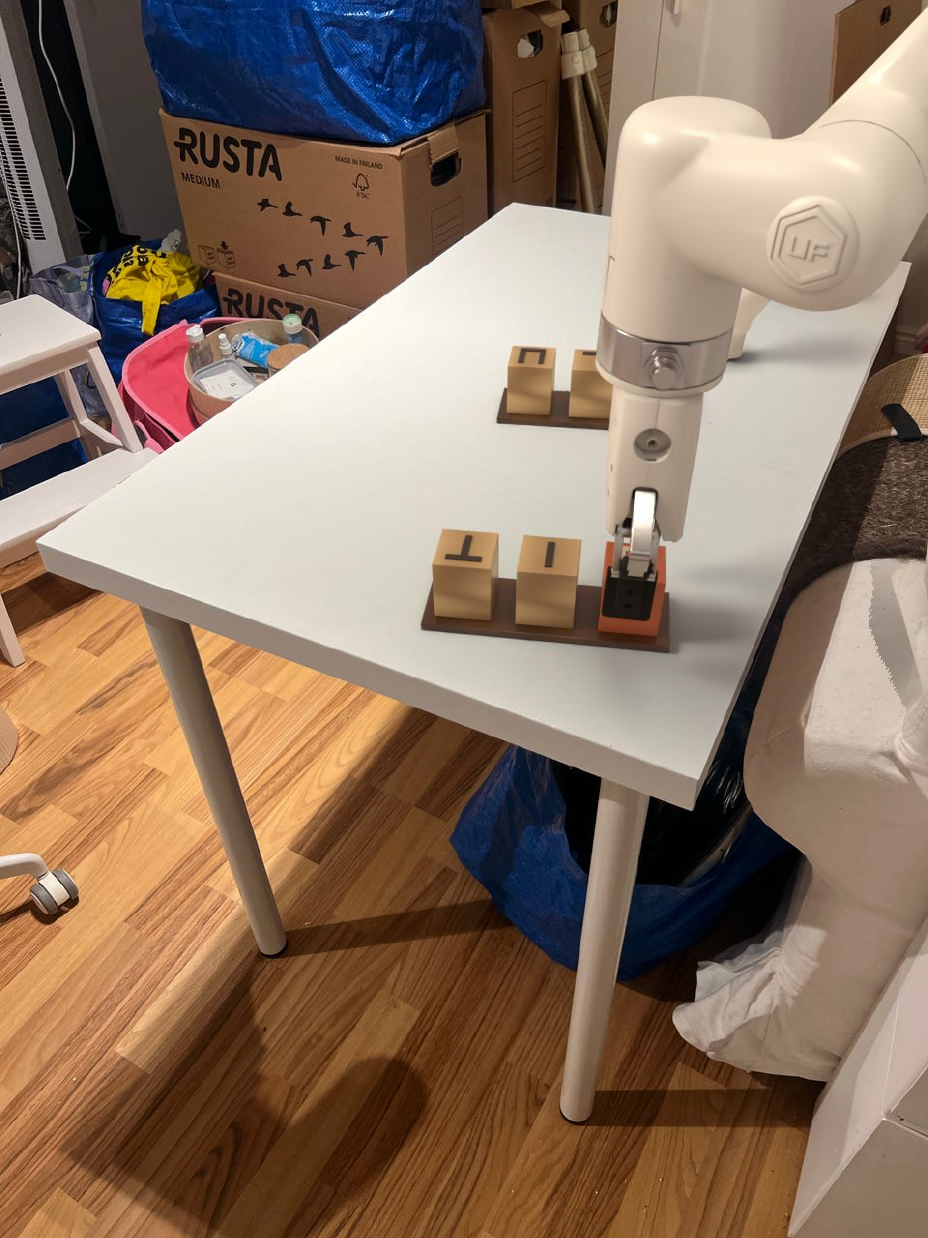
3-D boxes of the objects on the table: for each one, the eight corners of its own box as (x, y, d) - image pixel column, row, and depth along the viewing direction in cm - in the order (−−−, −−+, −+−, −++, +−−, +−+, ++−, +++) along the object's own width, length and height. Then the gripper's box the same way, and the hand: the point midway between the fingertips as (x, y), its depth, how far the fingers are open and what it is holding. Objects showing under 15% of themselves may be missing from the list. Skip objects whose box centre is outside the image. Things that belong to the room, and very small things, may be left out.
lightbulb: (756, 375, 95) (778, 269, 87) (694, 367, 96) (711, 262, 89) (761, 348, 99) (783, 245, 92) (701, 341, 101) (718, 239, 93)
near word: (668, 597, 69) (678, 538, 65) (669, 653, 65) (680, 592, 61) (435, 577, 72) (432, 518, 68) (420, 629, 67) (416, 569, 63)
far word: (683, 403, 91) (692, 349, 87) (685, 434, 86) (694, 379, 83) (504, 392, 93) (504, 339, 89) (496, 422, 89) (496, 368, 85)
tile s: (657, 598, 68) (666, 544, 65) (657, 636, 65) (666, 582, 62) (600, 593, 69) (606, 539, 65) (598, 631, 66) (603, 577, 62)
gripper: (737, 427, 46) (683, 662, 58) (721, 286, 59) (679, 503, 70) (589, 415, 47) (564, 649, 59) (604, 278, 60) (581, 494, 71)
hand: (627, 569), depth 65 cm, fingers open, 9 cm apart
